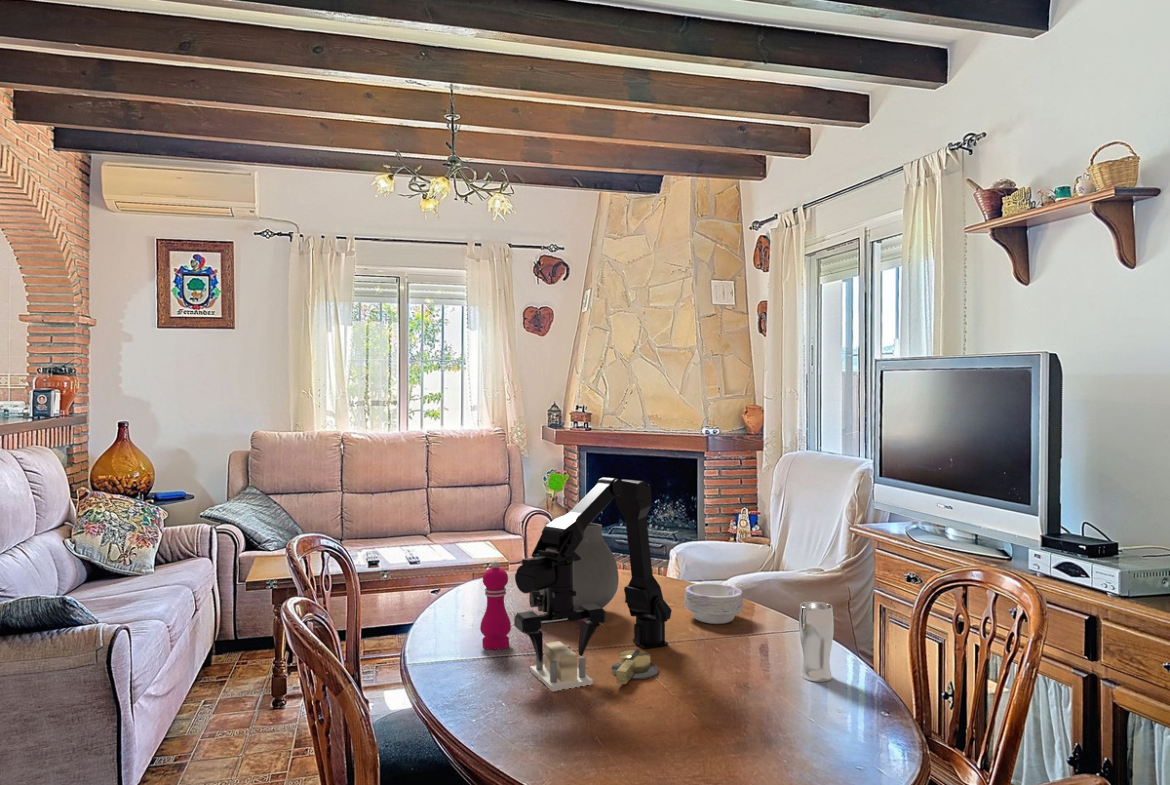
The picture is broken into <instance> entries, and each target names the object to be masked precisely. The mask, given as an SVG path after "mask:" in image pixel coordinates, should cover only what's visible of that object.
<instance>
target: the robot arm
mask: <svg viewBox="0 0 1170 785" xmlns="http://www.w3.org/2000/svg"><path fill="white" fill-rule="evenodd" d="M652 494H653V493H652V488H651V484H649V483H648V482H647V481H644V480H635V479H618V478H617V477H616V478H615V477H605V476H604V477H603V476H602V477H601V478H599V479H597V481H596V484H595V486H593V488H592V489H590V490H589V492H587V494H586V495H585V496H584V497H583V498H582V499H581V500H580V501H579V502H577V504H575V506H574V507H573V508H572V509H571V510H570V511H569V512H568V513H566V514H564V515H562V516H558V517H556V518H554V519H553V520H552V521H549V522H550V523H549V524H547V525H546V526H545V525H544V528H543V529H542V531H541V535H540V537H539V539H538V541H537V543H536V544H535V547H534V549H533V551H532V553H531V557H526V558H522V560H521V565H519V567H518V568H517V570H516V573H515V575H514V579H515V584H516V586H517V588H518V590H519V591H520V592H521V593H522V594H529V600H528V602H529V606H530V608H537V610H538V612H543V613H546V614H540V615H539V614H537V613H536V612H534V611H533V610H530V611H529V610H528V611H522V612H517V613H516V614H515V616H514V618H513V619H514V623H513V624H514V627H515V628H516V629H518V630H519V632H521V633H523V634H525V635H527V636H528V637H529V639H530V641H531V643H532V647H533V649H534V653H535V656H536V655H537V658H538V661H539V662H542V657H543V656H544V653H543V652H544V650H543V647H544V643H543V638H544V637H543V632H542V631H541V628H542V625H549V624H556V623H564V622H565V623H566V622H571V621H577V625H578V647H577V648H578V655H579V657H581V656H583V657H584V653H585V651H586V649H587V646H588V644H589V642H590V640H591V637H592V636H593V634H594V633H595V630H596V629H597V628H599V627H601V623H606V622H607V620H606V618H607V616H606V611H605V609H604V607H603V608H601V607H599V606H598V605H596V604H594V603H593V604H585V605H580V606H579V608H578V610H577V611H576V610H574V596H576V591H575V590H574V561H579V560H581V557H580V556H579V555H578V554H576V553H575V550H576V548H577V547H578V545H579V544H580V543H581V541H582V540H583V537H584V530H585V529H586V527H587V526H588V525H589V524H590V523H593V521H594V520H595V519H596V518H597V517H598V515H600V513H601V512H602V511H603V510H605V508H606V507H607V506H608V505H609V504H610V503H611V502H612V501H614V500H613V499H615V504H616V507H617V509H618V510H619V512H620V513H621V515H622V517H623V518H624V521H625V530H626V538H627V548H628V554H629V555H628V556H629V564H630V572H631V575H630V576H631V578H630V581H629V583H628V585H625V586H624V589H623V591H624V596H625V599H624V603H625V604H626V605H627V608H628V609H629V610H628V611H629V615H630V617H635V623H634V624H633V639H632V642H633V643H635V644H636V645H639V646H640V647H641V648H643V649H651V648H657V647H658V648H659V647H663V646H668V645H669V642H668V641H666V622H668V620H670V619H671V616H672V608H671V607H670V606H669V605H668V603H667V602H666V601H665V599H664V597H663V592H662V587H661V586H660V584H659V582H658V580H656V577H654V574H653V567H652V566H653V565H652V557H651V548H650V547H651V546H650V538H649V530H648V522H647V521H648V520H647V519H648V518H647V515H648V514H649V512H650V510H651V508H652V502H653V500H652V497H653V496H652ZM546 549H547V550H550V551H555V552H559V553H554V552H549V551H546ZM533 557H534V558H533ZM543 589H544V594H543V595H540V592H539V590H543ZM543 658H544V657H543Z"/></svg>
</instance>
